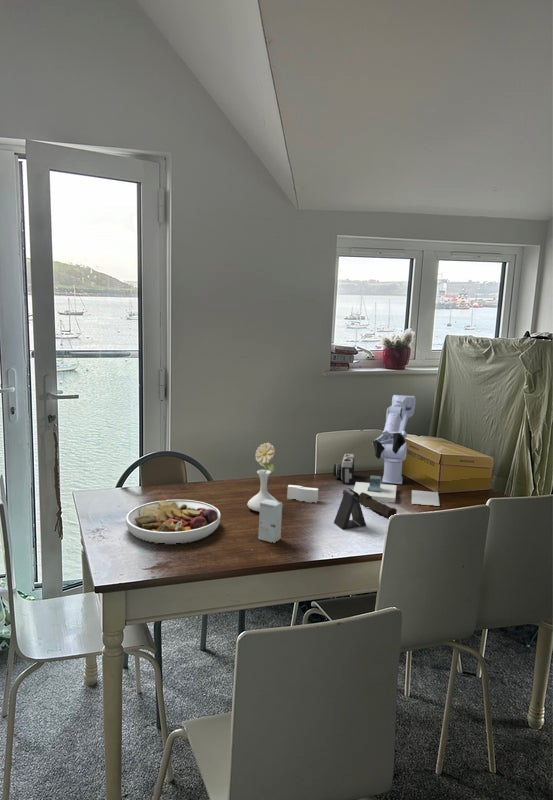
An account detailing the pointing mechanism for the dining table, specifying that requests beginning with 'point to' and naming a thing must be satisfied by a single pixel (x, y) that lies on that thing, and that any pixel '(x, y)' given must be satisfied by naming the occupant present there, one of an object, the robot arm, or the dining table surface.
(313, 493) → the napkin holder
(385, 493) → the plate
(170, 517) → the bowl
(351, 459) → the camera
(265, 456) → the flower in vase
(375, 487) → the teal rectangular block
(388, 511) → the dark brown wooden bar
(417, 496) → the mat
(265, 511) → the skincare box
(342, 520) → the phone stand
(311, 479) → the dining table surface
